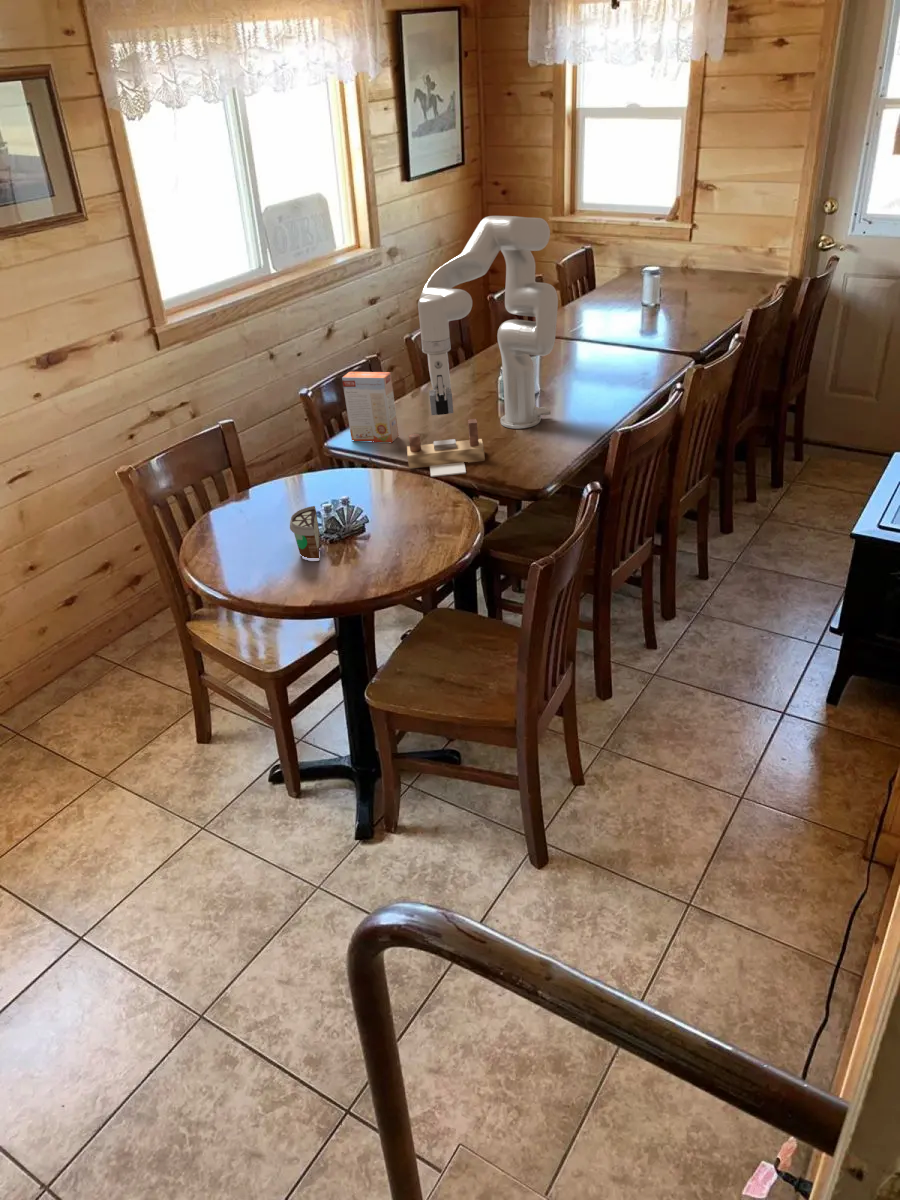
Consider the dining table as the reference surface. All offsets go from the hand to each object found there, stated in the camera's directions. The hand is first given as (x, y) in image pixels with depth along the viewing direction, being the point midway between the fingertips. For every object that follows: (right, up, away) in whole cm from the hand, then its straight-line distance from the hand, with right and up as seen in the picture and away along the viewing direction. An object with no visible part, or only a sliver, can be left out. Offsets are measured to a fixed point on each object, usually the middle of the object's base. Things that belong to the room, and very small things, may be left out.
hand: (442, 410), depth 246 cm
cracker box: (-21, -2, +35) cm, 41 cm away
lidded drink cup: (-33, -41, -26) cm, 59 cm away
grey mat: (+2, -15, +10) cm, 18 cm away
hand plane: (+1, -11, +16) cm, 19 cm away
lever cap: (0, 0, 0) cm, 0 cm away
